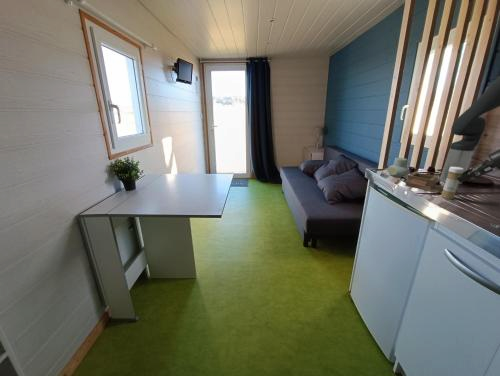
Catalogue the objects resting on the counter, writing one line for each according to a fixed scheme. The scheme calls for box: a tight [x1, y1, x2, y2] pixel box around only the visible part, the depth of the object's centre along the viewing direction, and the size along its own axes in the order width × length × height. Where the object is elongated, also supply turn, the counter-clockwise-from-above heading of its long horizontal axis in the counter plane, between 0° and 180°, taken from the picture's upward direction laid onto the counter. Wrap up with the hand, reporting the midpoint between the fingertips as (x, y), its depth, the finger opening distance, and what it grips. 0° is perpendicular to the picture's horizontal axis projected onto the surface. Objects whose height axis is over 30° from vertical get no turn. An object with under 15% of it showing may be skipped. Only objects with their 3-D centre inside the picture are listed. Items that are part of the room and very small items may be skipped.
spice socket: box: [404, 171, 444, 194], centre depth 112 cm, size 12×13×5 cm
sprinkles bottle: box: [440, 167, 464, 200], centre depth 98 cm, size 5×5×13 cm
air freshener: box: [386, 157, 411, 178], centre depth 129 cm, size 11×8×10 cm
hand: (459, 178), depth 96 cm, fingers open, 8 cm apart
